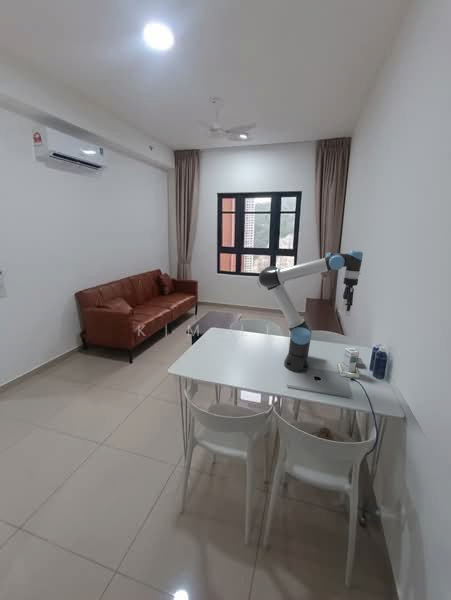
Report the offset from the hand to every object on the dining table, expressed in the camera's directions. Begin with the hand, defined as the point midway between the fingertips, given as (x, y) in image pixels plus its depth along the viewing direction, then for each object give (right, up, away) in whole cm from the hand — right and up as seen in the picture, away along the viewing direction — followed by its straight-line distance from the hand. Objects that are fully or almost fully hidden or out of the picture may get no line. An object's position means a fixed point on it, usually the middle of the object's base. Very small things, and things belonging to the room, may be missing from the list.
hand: (345, 312), depth 162 cm
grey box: (+10, -34, +8) cm, 37 cm away
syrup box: (+2, -36, 0) cm, 36 cm away
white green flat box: (+2, -36, 0) cm, 36 cm away
